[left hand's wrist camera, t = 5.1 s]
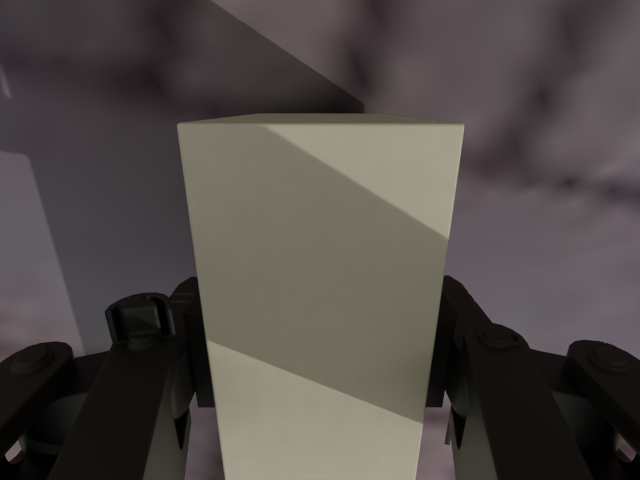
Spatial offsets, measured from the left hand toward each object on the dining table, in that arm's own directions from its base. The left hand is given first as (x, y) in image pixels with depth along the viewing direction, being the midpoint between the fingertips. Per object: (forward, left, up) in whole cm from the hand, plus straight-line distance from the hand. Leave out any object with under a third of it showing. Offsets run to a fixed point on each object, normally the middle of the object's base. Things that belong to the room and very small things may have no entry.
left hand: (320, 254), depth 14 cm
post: (+27, 0, -1) cm, 27 cm away
